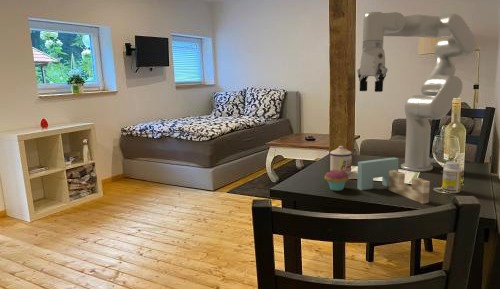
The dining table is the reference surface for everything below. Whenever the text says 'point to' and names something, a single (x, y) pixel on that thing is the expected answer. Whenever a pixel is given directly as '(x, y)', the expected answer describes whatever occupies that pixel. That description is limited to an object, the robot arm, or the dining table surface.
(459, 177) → the supplement bottle
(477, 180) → the dining table surface
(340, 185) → the cupcake
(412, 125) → the robot arm
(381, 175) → the teal slotted plate
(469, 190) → the dining table surface
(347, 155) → the teacup with lid
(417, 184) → the birch slotted plate
